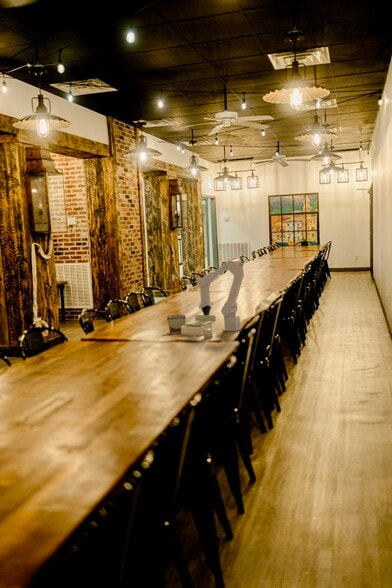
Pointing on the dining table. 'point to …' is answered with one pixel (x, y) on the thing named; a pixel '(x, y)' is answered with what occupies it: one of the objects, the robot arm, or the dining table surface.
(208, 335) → the cream rounded piece
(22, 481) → the dining table surface
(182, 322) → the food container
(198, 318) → the lid
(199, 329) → the box
